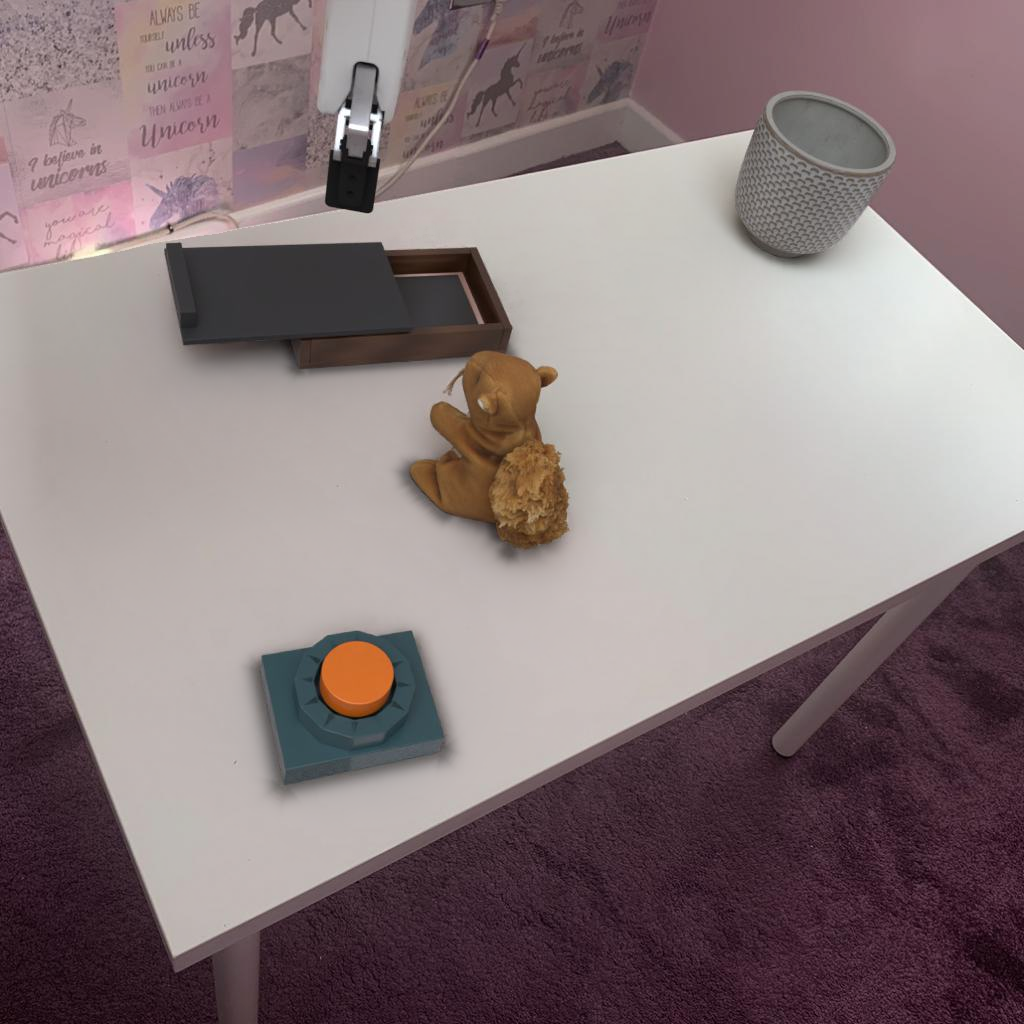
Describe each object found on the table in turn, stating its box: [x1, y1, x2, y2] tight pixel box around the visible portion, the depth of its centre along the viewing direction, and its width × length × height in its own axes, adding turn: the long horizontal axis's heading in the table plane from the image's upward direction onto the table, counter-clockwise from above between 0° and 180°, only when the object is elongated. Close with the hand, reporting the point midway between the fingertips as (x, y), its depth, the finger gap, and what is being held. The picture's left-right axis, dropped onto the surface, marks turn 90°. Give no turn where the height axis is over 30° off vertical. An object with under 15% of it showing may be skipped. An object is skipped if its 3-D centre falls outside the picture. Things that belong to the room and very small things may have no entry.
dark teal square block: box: [259, 629, 445, 786], centre depth 67 cm, size 10×8×4 cm
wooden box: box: [290, 246, 514, 370], centre depth 91 cm, size 18×11×3 cm, turn 108°
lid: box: [163, 241, 413, 346], centre depth 85 cm, size 18×11×2 cm, turn 108°
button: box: [319, 641, 394, 717], centre depth 65 cm, size 4×4×2 cm
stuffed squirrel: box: [409, 351, 570, 550], centre depth 77 cm, size 10×14×13 cm
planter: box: [734, 90, 897, 259], centre depth 108 cm, size 14×14×13 cm
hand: (354, 165), depth 74 cm, fingers open, 9 cm apart
